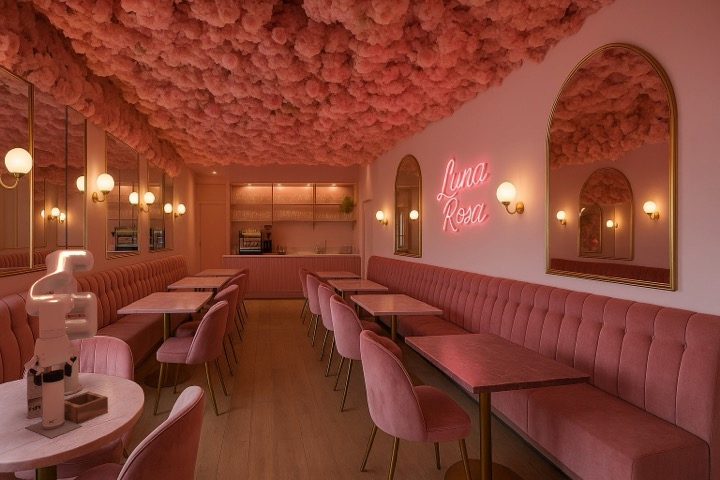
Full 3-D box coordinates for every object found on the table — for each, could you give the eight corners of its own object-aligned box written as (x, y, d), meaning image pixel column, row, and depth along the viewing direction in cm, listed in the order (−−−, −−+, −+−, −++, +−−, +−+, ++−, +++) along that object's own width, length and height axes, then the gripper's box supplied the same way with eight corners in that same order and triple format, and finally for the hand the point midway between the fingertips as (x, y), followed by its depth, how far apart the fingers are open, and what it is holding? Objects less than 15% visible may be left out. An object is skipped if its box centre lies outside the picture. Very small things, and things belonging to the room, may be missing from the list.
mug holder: (59, 417, 160) (58, 401, 160) (88, 406, 170) (88, 391, 169) (78, 424, 154) (78, 407, 154) (107, 412, 164) (107, 397, 164)
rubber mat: (25, 428, 151) (25, 427, 151) (56, 417, 160) (56, 416, 160) (51, 439, 144) (51, 437, 144) (81, 426, 153) (81, 425, 153)
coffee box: (48, 414, 162) (48, 373, 161) (27, 419, 158) (26, 376, 157) (48, 406, 169) (47, 366, 168) (27, 410, 165) (27, 369, 165)
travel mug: (53, 431, 148) (53, 374, 148) (38, 429, 150) (37, 372, 149) (69, 423, 154) (69, 368, 154) (54, 421, 156) (53, 366, 155)
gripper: (72, 326, 160) (72, 370, 161) (18, 337, 145) (19, 386, 146) (84, 329, 157) (84, 374, 158) (30, 341, 141) (31, 391, 142)
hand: (53, 380), depth 152 cm, fingers open, 9 cm apart
